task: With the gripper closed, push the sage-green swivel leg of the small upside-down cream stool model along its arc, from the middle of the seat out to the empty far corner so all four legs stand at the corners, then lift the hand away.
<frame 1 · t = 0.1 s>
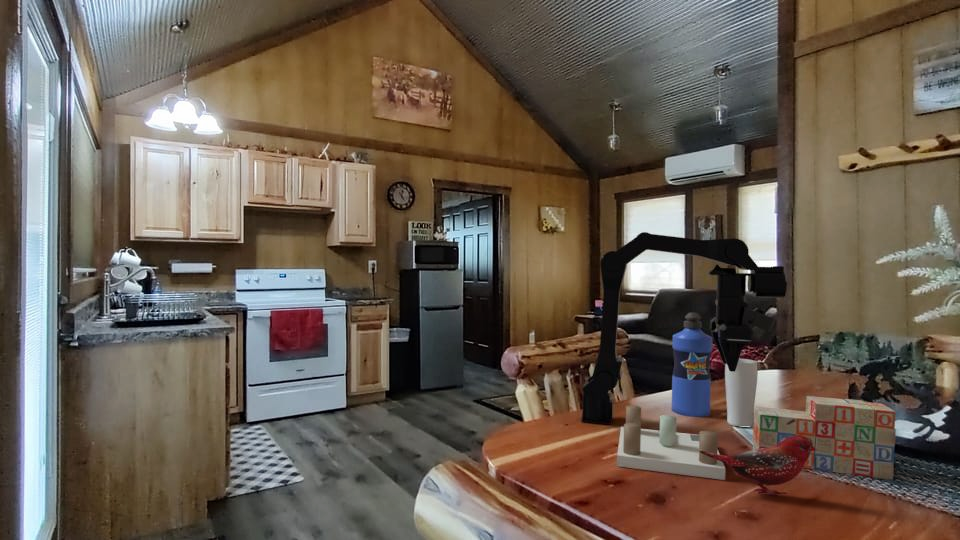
hand: (729, 367, 116), 15 cm above the table, tool pointing down, fingers open, 9 cm apart
stool seat: (667, 455, 102), on the table
drinking glass: (739, 425, 123), on the table
water bottle: (690, 412, 133), on the table
decorative bird figurine: (755, 494, 86), on the table
stack of blocks: (818, 466, 99), on the table
hinged leg: (667, 425, 105), point 5 cm above the table, hinge at 0.0°
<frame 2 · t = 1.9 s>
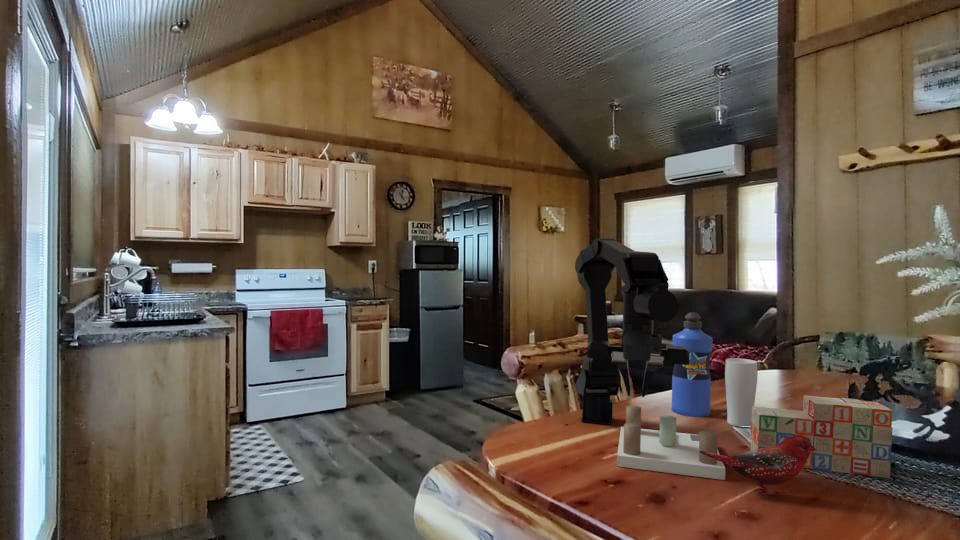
hand: (636, 396, 103), 11 cm above the table, tool pointing down, fingers closed
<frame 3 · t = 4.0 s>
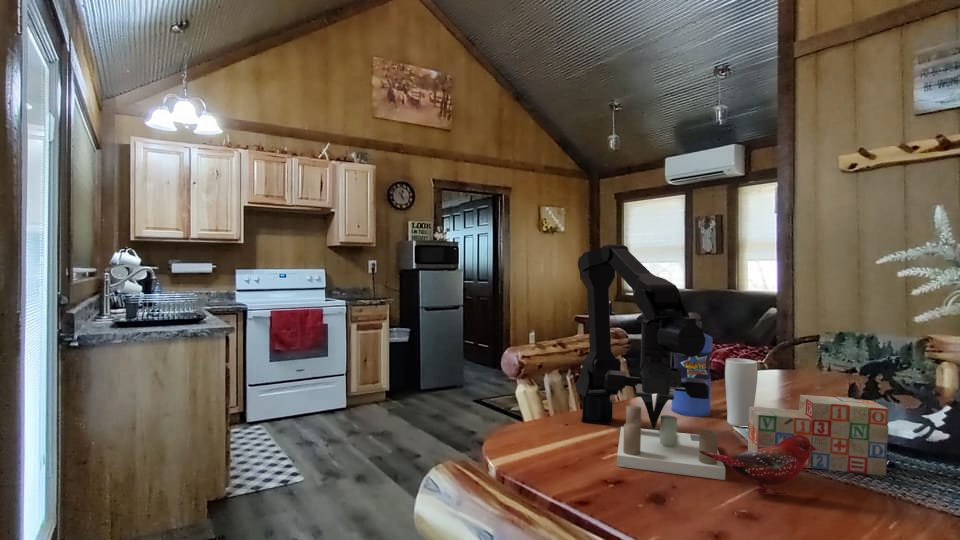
hand: (653, 428, 102), 5 cm above the table, tool pointing down, fingers closed
hinged leg: (667, 425, 105), point 5 cm above the table, hinge at 1.1°, touching gripper
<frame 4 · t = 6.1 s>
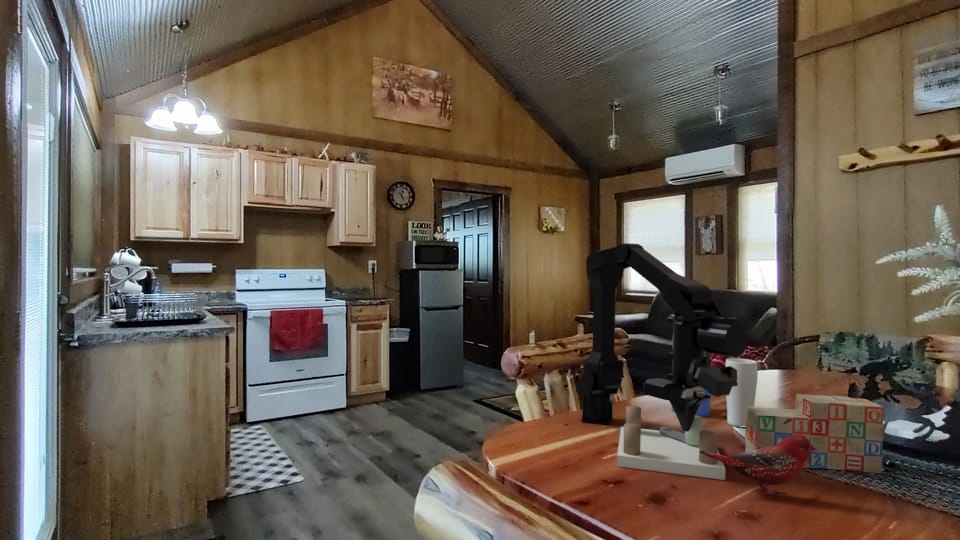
hand: (686, 431, 101), 5 cm above the table, tool pointing down, fingers closed
hinged leg: (680, 425, 105), point 5 cm above the table, hinge at 47.4°, touching gripper
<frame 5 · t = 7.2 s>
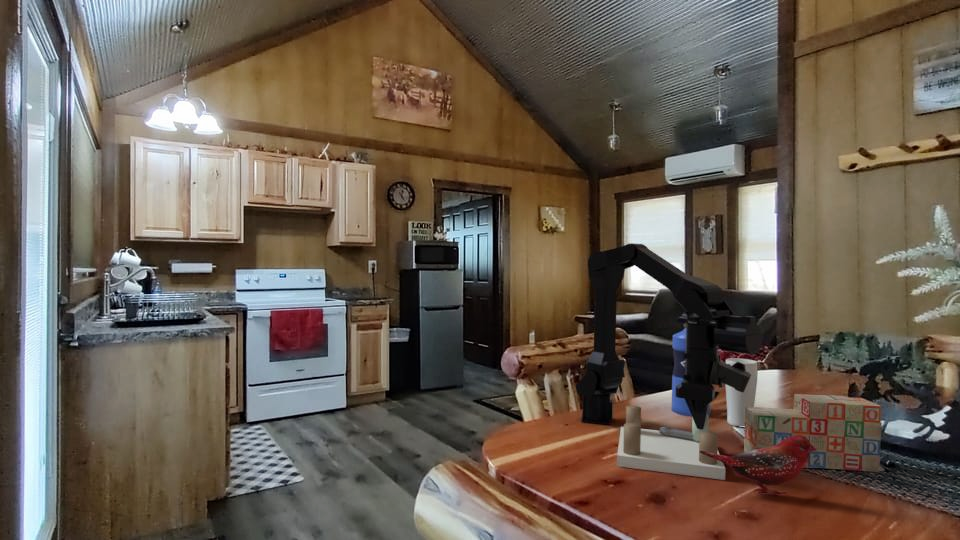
hand: (700, 429, 102), 5 cm above the table, tool pointing down, fingers closed
hinged leg: (683, 423, 106), point 5 cm above the table, hinge at 74.1°, touching gripper
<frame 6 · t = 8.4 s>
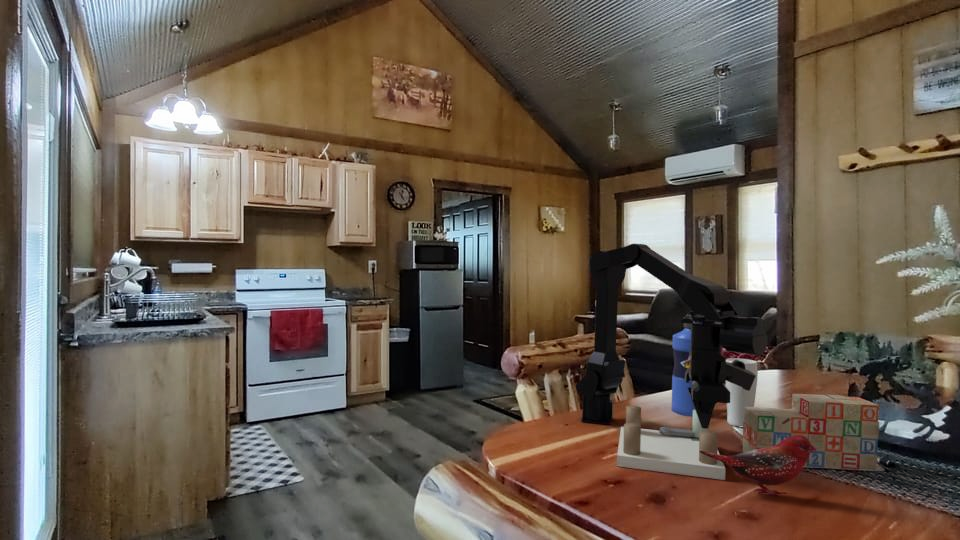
hand: (704, 428, 103), 5 cm above the table, tool pointing down, fingers closed
hinged leg: (683, 422, 107), point 5 cm above the table, hinge at 93.0°
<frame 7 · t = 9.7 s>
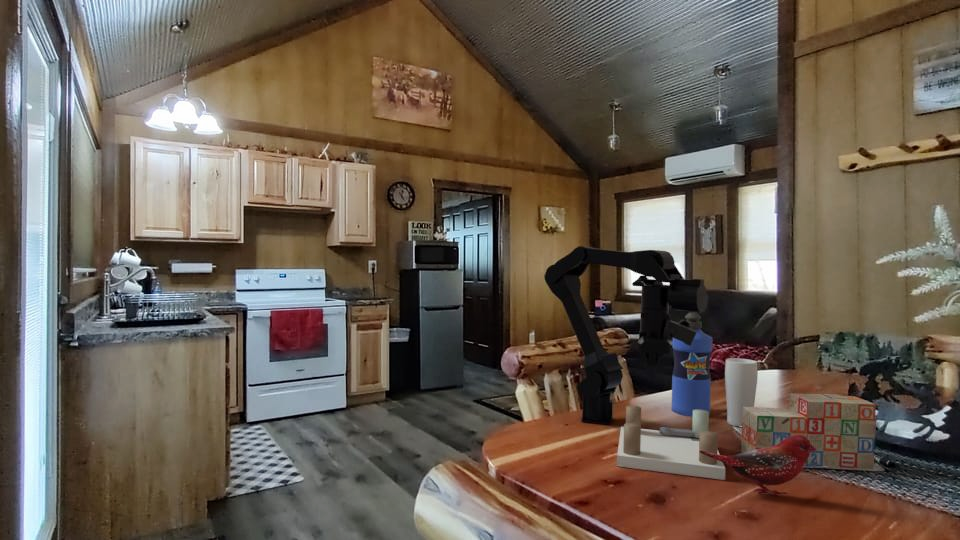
hand: (651, 379, 115), 12 cm above the table, tool pointing down, fingers closed
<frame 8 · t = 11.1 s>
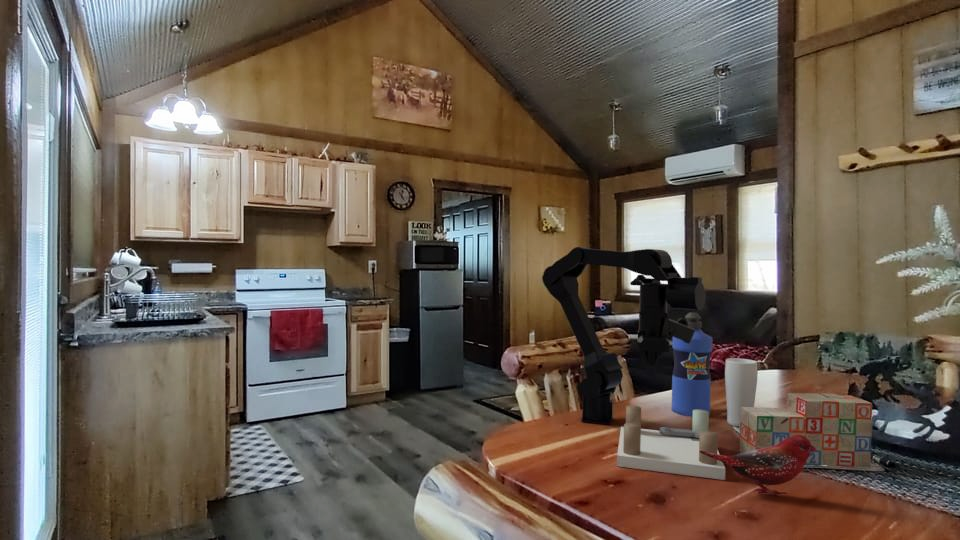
hand: (651, 378, 115), 12 cm above the table, tool pointing down, fingers closed
at the end: hinged leg at +93° (first picture: +0°) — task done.
